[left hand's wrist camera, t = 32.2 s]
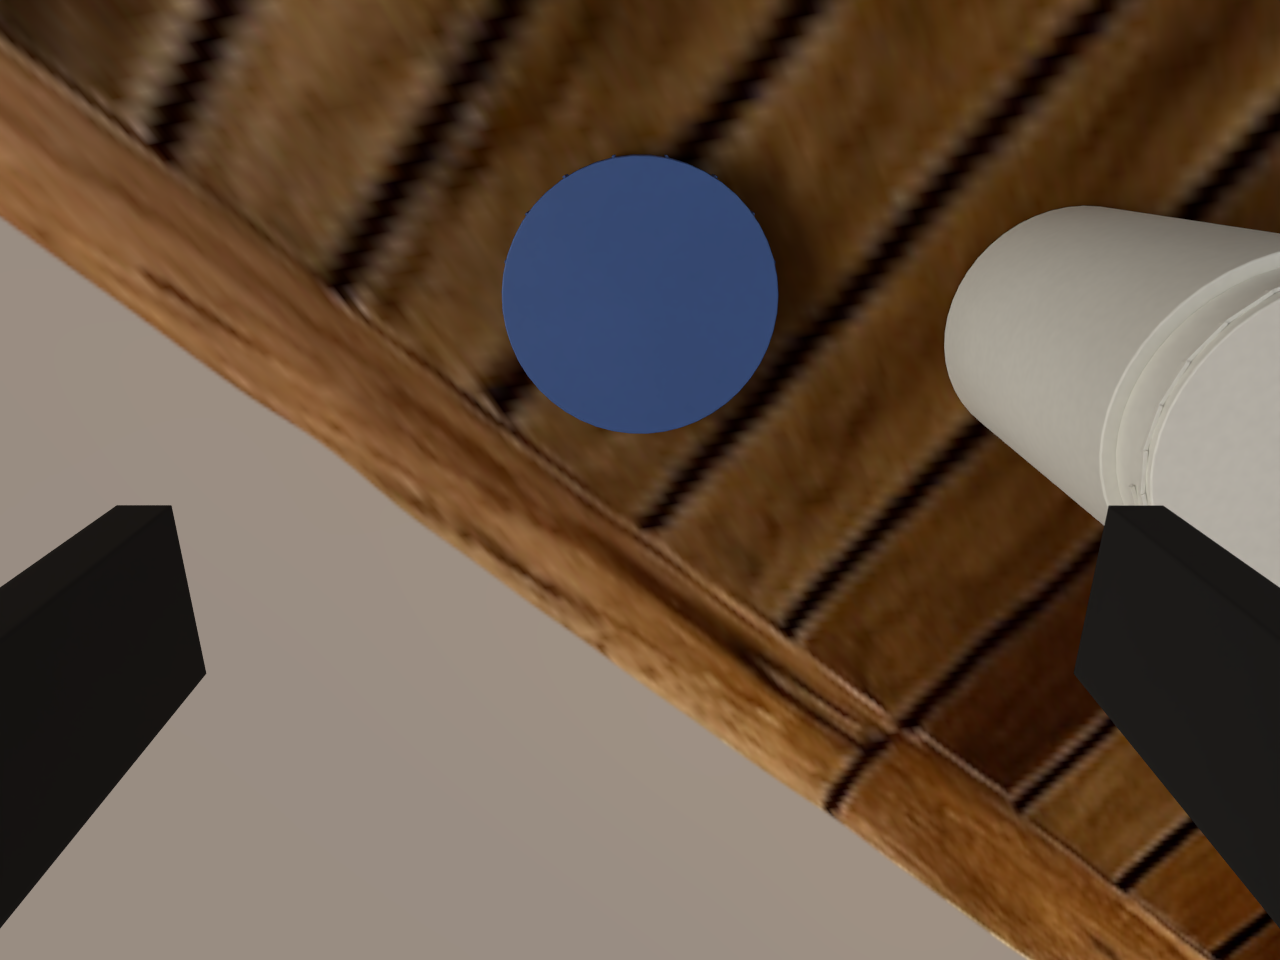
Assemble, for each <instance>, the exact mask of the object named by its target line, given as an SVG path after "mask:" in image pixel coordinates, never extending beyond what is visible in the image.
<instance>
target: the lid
mask: <svg viewBox="0 0 1280 960" xmlns="http://www.w3.org/2000/svg"><path fill="white" fill-rule="evenodd" d="M525 215H526V217H525V218H524V220H523V221H522V223H521V225H520V227H519V229H518V231H517V233H516V235H515V237H514V239H513V241H512V244H511V247H510V250H509V252H508V255H507V259H506V260H505V263H506V264H505V268H504V273H503V284H502V306H503V315H504V320H505V326H506V330H507V333H508V336H509V339H510V343H511V346H512V348H513V350H514V352H515V354H516V356H517V359H518V361H519V362H520V364H521V366H522V367H523V369H524V370H525V372H526V374H527V375H528V377H529V378H530V379H531V380H532V381H533V383H534V384H535V385H536V386H537V388H538V389H539V390H540V391H541V392H542V393H543V394H544V395H545V396H546V397H547V398H549V399H550V400H551V401H552V402H553V403H554V404H556V405H557V406H558V407H560V408H561V409H563V410H564V411H565V412H567V413H569V414H571V415H572V416H574V417H576V418H578V419H579V420H582V421H584V422H586V423H589V424H591V425H594V426H596V427H600V428H604V429H608V430H611V431H617V432H624V433H656V432H664V431H668V430H673V429H677V428H681V427H683V426H686V425H689V424H691V423H694V422H697V421H699V420H700V419H702V418H704V417H706V416H708V415H710V414H712V413H713V412H715V411H716V410H717V409H719V408H720V407H722V406H723V405H725V404H726V403H727V402H728V401H729V400H730V399H732V398H733V397H734V396H735V395H736V394H737V393H738V392H739V391H740V390H741V389H742V388H743V386H744V385H745V384H746V383H747V382H748V381H749V379H750V378H751V377H752V375H753V374H754V372H755V371H756V369H757V368H758V366H759V364H760V363H761V361H762V359H763V357H764V355H765V352H766V350H767V348H768V346H769V343H770V340H771V337H772V334H773V331H774V326H775V321H776V316H777V307H778V282H777V273H776V268H775V260H774V258H773V255H772V252H771V249H770V246H769V243H768V241H767V239H766V237H765V235H764V232H763V230H762V228H761V226H760V224H759V223H758V221H757V220H756V218H755V217H754V215H755V214H754V212H752V211H751V210H749V208H748V207H747V206H746V205H745V204H744V203H743V201H742V200H741V199H740V198H739V197H738V196H737V195H736V194H735V193H734V192H733V191H732V190H730V189H729V188H728V187H727V186H726V185H724V184H723V183H722V182H721V181H719V180H717V176H716V175H714V174H712V175H710V174H708V173H706V172H705V171H703V170H701V169H699V168H696V167H694V166H692V165H690V164H688V163H685V162H682V161H679V160H675V159H672V158H669V157H668V155H664V157H662V156H655V155H625V156H617V157H616V155H612V158H609V159H605V160H601V161H598V162H595V163H593V164H590V165H588V166H586V167H583V168H581V169H579V170H577V171H576V172H574V173H572V174H571V175H568V174H566V175H564V176H563V179H562V180H561V181H560V182H558V183H557V184H556V185H555V186H553V187H552V188H551V189H550V190H548V191H547V192H546V193H545V194H544V195H543V196H542V197H541V198H540V199H539V201H538V202H537V203H536V204H535V205H534V206H533V207H532V209H531V210H530V211H528V212H527V213H526V214H525Z"/></svg>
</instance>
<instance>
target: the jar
mask: <svg viewBox="0 0 1280 960" xmlns="http://www.w3.org/2000/svg"><path fill="white" fill-rule="evenodd" d="M944 349H945V360H946V366H947V370H948V374H949V378H950V380H951V383H952V385H953V388H954V390H955V392H956V393H957V395H958V397H959V399H960V400H961V402H962V403H963V404H964V406H965V407H966V408H967V409H968V411H969V412H970V413H971V414H972V415H973V416H974V417H976V418H977V419H978V420H979V421H980V422H981V423H982V424H983V425H985V426H986V427H987V428H988V429H989V430H991V431H992V432H993V433H994V434H995V435H997V436H998V437H999V438H1000V439H1001V440H1003V441H1004V442H1005V443H1006V444H1007V445H1009V446H1010V447H1011V448H1012V449H1013V450H1015V451H1016V452H1017V453H1018V454H1019V455H1020V456H1022V457H1023V458H1024V459H1025V460H1026V461H1028V462H1029V463H1030V464H1031V465H1032V466H1034V467H1035V468H1036V469H1037V470H1038V471H1040V472H1041V473H1042V474H1043V475H1044V476H1046V477H1047V478H1048V479H1049V480H1050V481H1052V482H1053V483H1054V484H1055V485H1056V486H1058V487H1059V488H1060V489H1061V490H1062V491H1064V492H1065V493H1066V494H1067V495H1068V496H1070V497H1071V498H1072V499H1073V500H1074V501H1075V502H1077V503H1078V504H1079V505H1080V506H1081V507H1083V508H1084V509H1085V510H1086V511H1087V512H1089V513H1090V514H1091V515H1092V516H1093V517H1095V518H1096V519H1097V520H1098V521H1099V522H1101V523H1102V524H1103V525H1105V520H1106V516H1107V511H1108V506H1109V505H1163V506H1165V507H1166V508H1168V509H1169V510H1170V511H1172V512H1173V513H1175V514H1176V515H1178V516H1179V517H1180V518H1182V519H1183V520H1185V521H1186V522H1187V523H1189V524H1190V525H1192V526H1193V527H1195V528H1196V529H1197V530H1199V531H1200V532H1202V533H1203V534H1205V535H1206V536H1207V537H1209V538H1210V539H1212V540H1213V541H1214V542H1216V543H1217V544H1219V545H1220V546H1222V547H1223V548H1224V549H1226V550H1227V551H1229V552H1230V553H1232V554H1233V555H1234V556H1236V557H1237V558H1239V559H1240V560H1241V561H1243V562H1244V563H1246V564H1247V565H1249V566H1250V567H1251V568H1253V569H1254V570H1256V571H1257V572H1259V573H1260V574H1261V575H1263V576H1264V577H1266V578H1267V579H1268V580H1270V581H1271V582H1273V583H1274V584H1276V585H1277V586H1278V587H1280V234H1279V233H1272V232H1266V231H1259V230H1252V229H1246V228H1239V227H1233V226H1226V225H1219V224H1213V223H1206V222H1199V221H1193V220H1186V219H1179V218H1173V217H1166V216H1160V215H1153V214H1146V213H1140V212H1133V211H1126V210H1120V209H1113V208H1106V207H1099V206H1075V207H1066V208H1061V209H1056V210H1052V211H1049V212H1046V213H1043V214H1040V215H1037V216H1034V217H1032V218H1030V219H1028V220H1026V221H1024V222H1022V223H1020V224H1018V225H1017V226H1015V227H1014V228H1012V229H1011V230H1009V231H1008V232H1006V233H1005V234H1003V235H1002V236H1001V237H1000V238H998V239H997V240H996V241H995V242H994V243H992V244H991V245H990V246H989V247H988V248H987V249H986V250H985V251H984V252H983V253H982V254H981V255H980V256H979V257H978V259H977V260H976V261H975V263H974V264H973V265H972V267H971V268H970V269H969V271H968V272H967V274H966V275H965V277H964V279H963V280H962V282H961V284H960V285H959V287H958V290H957V292H956V294H955V296H954V299H953V301H952V304H951V307H950V311H949V314H948V318H947V323H946V329H945V343H944Z"/></svg>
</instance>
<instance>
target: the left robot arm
mask: <svg viewBox="0 0 1280 960" xmlns="http://www.w3.org/2000/svg"><path fill="white" fill-rule="evenodd" d="M205 674H206V670H205V665H204V660H203V656H202V651H201V646H200V641H199V636H198V631H197V626H196V622H195V617H194V612H193V607H192V602H191V598H190V593H189V588H188V583H187V578H186V573H185V569H184V564H183V559H182V554H181V549H180V545H179V540H178V535H177V530H176V525H175V520H174V516H173V511H172V506H171V505H156V506H155V505H117V506H115V507H114V508H112V509H111V510H110V511H108V512H107V513H105V514H104V515H103V516H101V517H100V518H98V519H97V520H95V521H94V522H93V523H91V524H90V525H88V526H87V527H85V528H84V529H83V530H81V531H80V532H78V533H77V534H75V535H74V536H73V537H71V538H70V539H68V540H67V541H66V542H64V543H63V544H61V545H60V546H58V547H57V548H56V549H54V550H53V551H51V552H50V553H48V554H47V555H46V556H44V557H43V558H41V559H40V560H39V561H37V562H36V563H34V564H33V565H31V566H30V567H29V568H27V569H26V570H24V571H23V572H21V573H20V574H19V575H17V576H16V577H14V578H13V579H12V580H10V581H9V582H7V583H6V584H4V585H3V586H2V587H0V928H1V927H2V925H3V924H4V923H5V922H6V920H7V919H8V918H9V917H10V916H11V914H12V913H13V912H14V911H15V909H16V908H17V907H18V906H19V904H20V903H21V902H22V901H23V899H24V898H25V897H26V896H27V894H28V893H29V892H30V891H31V890H32V888H33V887H34V886H35V885H36V883H37V882H38V881H39V880H40V878H41V877H42V876H43V875H44V873H45V872H46V871H47V870H48V868H49V867H50V866H51V865H52V864H53V862H54V861H55V860H56V859H57V857H58V856H59V855H60V854H61V852H62V851H63V850H64V849H65V847H66V846H67V845H68V844H69V843H70V841H71V840H72V839H73V838H74V836H75V835H76V834H77V833H78V831H79V830H80V829H81V828H82V827H83V825H84V824H85V823H86V822H87V820H88V819H89V818H90V817H91V815H92V814H93V813H94V812H95V810H96V809H97V808H98V807H99V805H100V804H101V803H102V802H103V800H104V799H105V798H106V797H107V796H108V794H109V793H110V792H111V791H112V789H113V788H114V787H115V786H116V784H117V783H118V782H119V781H120V780H121V778H122V777H123V776H124V775H125V773H126V772H127V771H128V770H129V768H130V767H131V766H132V765H133V763H134V762H135V761H136V760H137V759H138V757H139V756H140V755H141V754H142V752H143V751H144V750H145V749H146V747H147V746H148V745H149V744H150V742H151V741H152V740H153V739H154V737H155V736H156V735H157V734H158V732H159V731H160V730H161V729H162V728H163V726H164V725H165V724H166V723H167V721H168V720H169V719H170V718H171V716H172V715H173V714H174V713H175V712H176V710H177V709H178V708H179V707H180V705H181V704H182V703H183V702H184V700H185V699H186V698H187V697H188V695H189V694H190V693H191V692H192V690H193V689H194V688H195V687H196V686H197V684H198V683H199V682H200V681H201V679H202V678H203V677H204V676H205ZM1074 674H1075V676H1076V677H1077V678H1078V679H1079V681H1080V682H1081V683H1082V684H1083V686H1084V687H1085V688H1086V689H1087V691H1088V692H1089V693H1090V694H1091V695H1092V697H1093V698H1094V699H1095V700H1096V702H1097V703H1098V704H1099V705H1100V707H1101V708H1102V709H1103V710H1104V712H1105V713H1106V714H1107V715H1108V716H1109V718H1110V719H1111V720H1112V721H1113V723H1114V724H1115V725H1116V726H1117V728H1118V729H1119V730H1120V731H1121V733H1122V734H1123V735H1124V736H1125V737H1126V739H1127V740H1128V741H1129V742H1130V744H1131V745H1132V746H1133V747H1134V749H1135V750H1136V751H1137V752H1138V754H1139V755H1140V756H1141V757H1142V759H1143V760H1144V761H1145V762H1146V763H1147V765H1148V766H1149V767H1150V768H1151V770H1152V771H1153V772H1154V773H1155V775H1156V776H1157V777H1158V778H1159V780H1160V781H1161V782H1162V783H1163V784H1164V786H1165V787H1166V788H1167V789H1168V791H1169V792H1170V793H1171V794H1172V796H1173V797H1174V798H1175V799H1176V801H1177V802H1178V803H1179V804H1180V805H1181V807H1182V808H1183V809H1184V810H1185V812H1186V813H1187V814H1188V815H1189V817H1190V818H1191V819H1192V820H1193V822H1194V823H1195V824H1196V825H1197V827H1198V828H1199V829H1200V830H1201V831H1202V833H1203V834H1204V835H1205V836H1206V838H1207V839H1208V840H1209V841H1210V843H1211V844H1212V845H1213V846H1214V848H1215V849H1216V850H1217V851H1218V852H1219V854H1220V855H1221V856H1222V857H1223V859H1224V860H1225V861H1226V862H1227V864H1228V865H1229V866H1230V867H1231V869H1232V870H1233V871H1234V872H1235V873H1236V875H1237V876H1238V877H1239V878H1240V880H1241V881H1242V882H1243V883H1244V885H1245V886H1246V887H1247V888H1248V890H1249V891H1250V892H1251V893H1252V895H1253V896H1254V897H1255V898H1256V899H1257V901H1258V902H1259V903H1260V904H1261V906H1262V907H1263V908H1264V909H1265V911H1266V912H1267V913H1268V914H1269V916H1270V917H1271V918H1272V919H1273V920H1274V922H1275V923H1276V924H1277V925H1278V927H1279V928H1280V587H1278V586H1277V585H1276V584H1274V583H1273V582H1271V581H1270V580H1268V579H1267V578H1266V577H1264V576H1263V575H1261V574H1260V573H1259V572H1257V571H1256V570H1254V569H1253V568H1251V567H1250V566H1249V565H1247V564H1246V563H1244V562H1243V561H1241V560H1240V559H1239V558H1237V557H1236V556H1234V555H1233V554H1232V553H1230V552H1229V551H1227V550H1226V549H1224V548H1223V547H1222V546H1220V545H1219V544H1217V543H1216V542H1214V541H1213V540H1212V539H1210V538H1209V537H1207V536H1206V535H1205V534H1203V533H1202V532H1200V531H1199V530H1197V529H1196V528H1195V527H1193V526H1192V525H1190V524H1189V523H1187V522H1186V521H1185V520H1183V519H1182V518H1180V517H1179V516H1178V515H1176V514H1175V513H1173V512H1172V511H1170V510H1169V509H1168V508H1166V507H1165V506H1163V505H1109V506H1108V511H1107V516H1106V520H1105V525H1104V530H1103V535H1102V540H1101V544H1100V549H1099V554H1098V559H1097V564H1096V569H1095V573H1094V578H1093V583H1092V588H1091V593H1090V598H1089V602H1088V607H1087V612H1086V617H1085V622H1084V626H1083V631H1082V636H1081V641H1080V646H1079V651H1078V655H1077V660H1076V665H1075V670H1074Z"/></svg>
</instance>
